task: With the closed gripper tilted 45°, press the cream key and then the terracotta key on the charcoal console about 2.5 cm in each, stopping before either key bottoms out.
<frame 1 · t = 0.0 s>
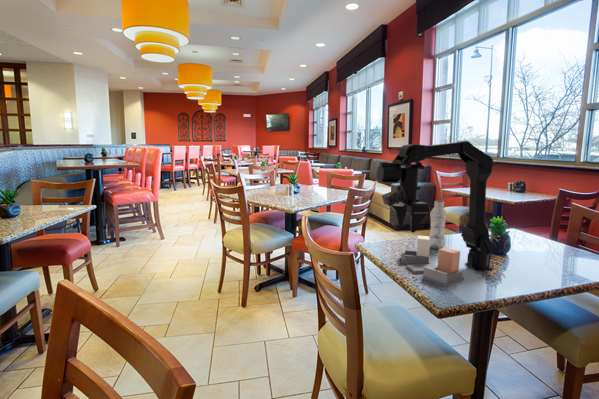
hand: (406, 229, 116), 15 cm above the table, tool pointing down, fingers open, 9 cm apart
plastic bottle: (436, 248, 145), on the table
cream key: (422, 248, 127), point 5 cm above the table, slide at 0.0 cm
terracotta key: (448, 262, 111), point 5 cm above the table, slide at 0.0 cm
key console: (439, 269, 120), on the table
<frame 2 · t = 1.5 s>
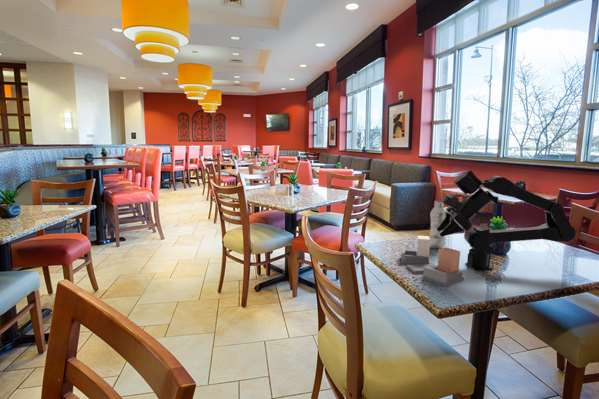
hand: (438, 232, 124), 11 cm above the table, tool tilted 45°, fingers open, 8 cm apart
nothing on the table moved.
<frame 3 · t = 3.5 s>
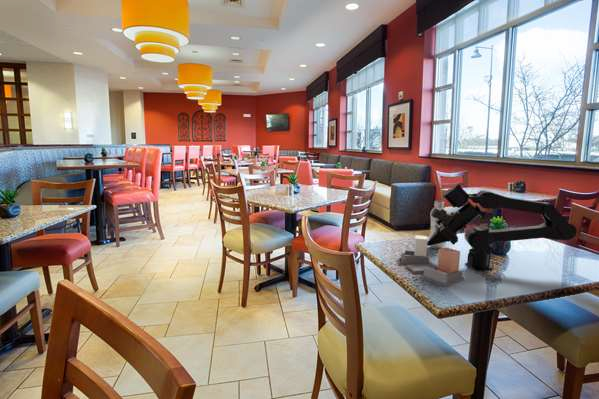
hand: (427, 244, 126), 7 cm above the table, tool tilted 45°, fingers closed, pressing on cream key
cream key: (420, 247, 127), point 5 cm above the table, slide at 0.9 cm, touching gripper
everything else where it was.
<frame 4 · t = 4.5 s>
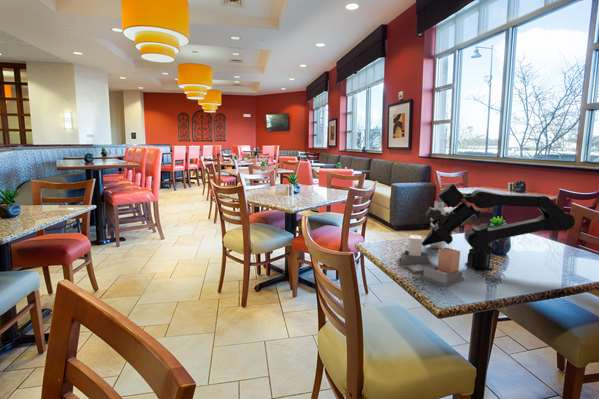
hand: (422, 244, 126), 7 cm above the table, tool tilted 45°, fingers closed
cream key: (414, 247, 127), point 5 cm above the table, slide at 2.8 cm
everything else where it was.
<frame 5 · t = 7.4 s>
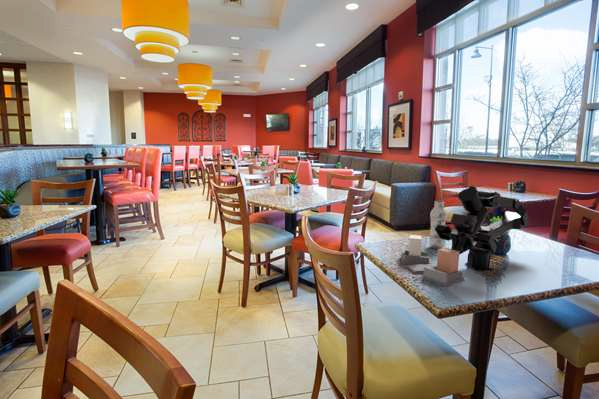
hand: (452, 257, 112), 7 cm above the table, tool tilted 45°, fingers closed, pressing on terracotta key
terracotta key: (447, 262, 111), point 5 cm above the table, slide at 0.4 cm, touching gripper
everything else where it was.
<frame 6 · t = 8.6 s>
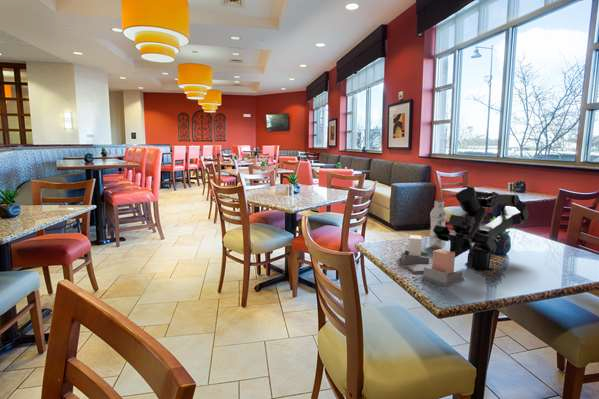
hand: (450, 258, 111), 6 cm above the table, tool tilted 45°, fingers closed
terracotta key: (443, 263, 109), point 5 cm above the table, slide at 2.8 cm
everything else where it was.
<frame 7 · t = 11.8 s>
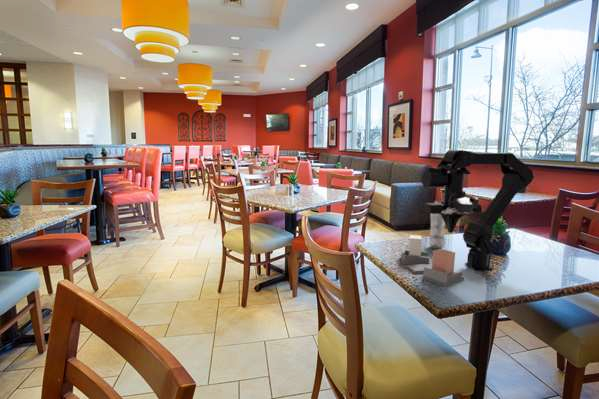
hand: (450, 232, 118), 13 cm above the table, tool pointing down, fingers closed
nothing on the table moved.
at the end: cream key slide at 2.8 cm; terracotta key slide at 2.8 cm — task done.
